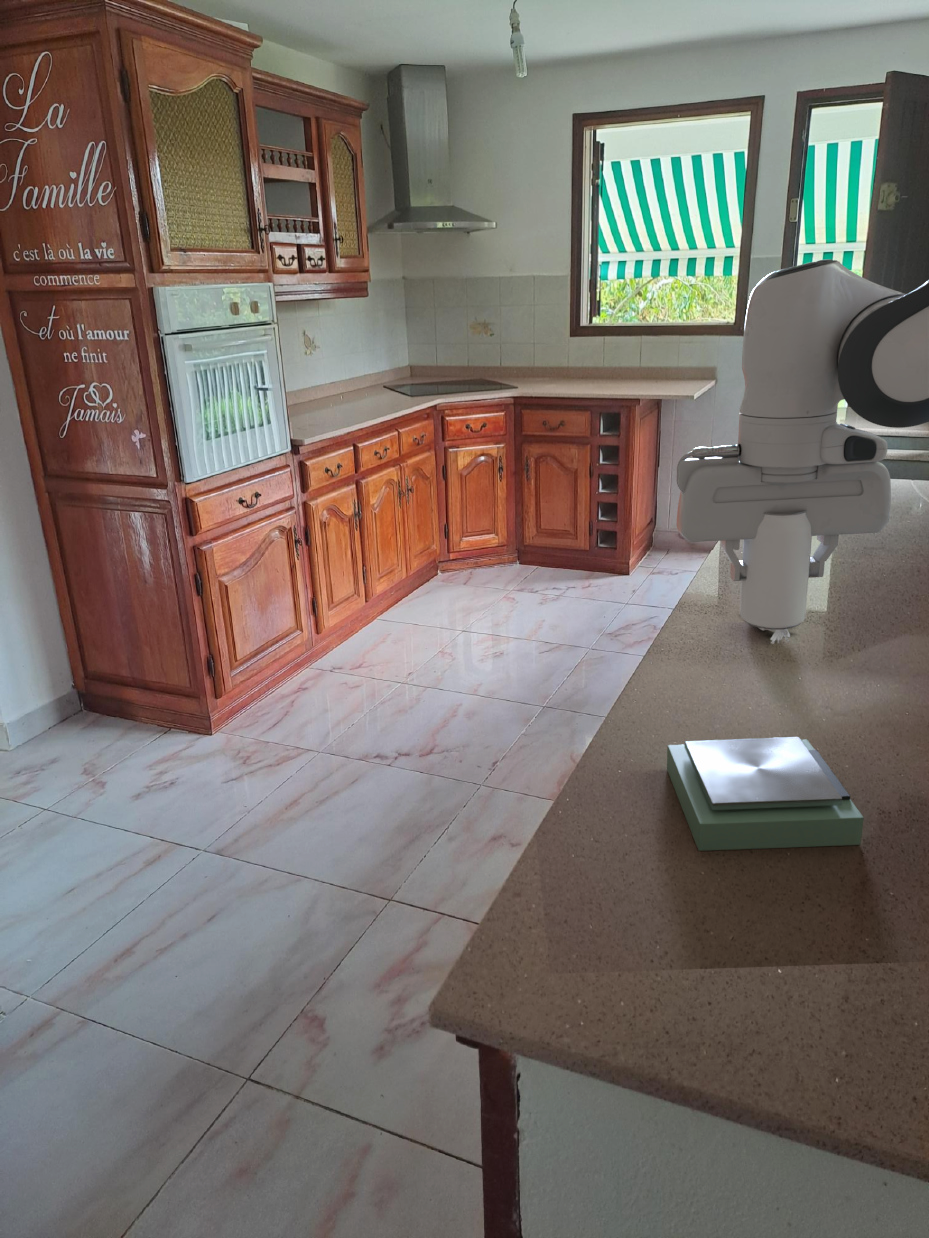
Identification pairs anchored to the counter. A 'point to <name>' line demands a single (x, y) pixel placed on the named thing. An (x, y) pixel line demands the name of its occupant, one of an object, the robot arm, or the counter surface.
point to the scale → (762, 815)
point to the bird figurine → (778, 634)
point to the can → (777, 572)
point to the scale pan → (760, 774)
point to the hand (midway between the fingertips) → (776, 577)
